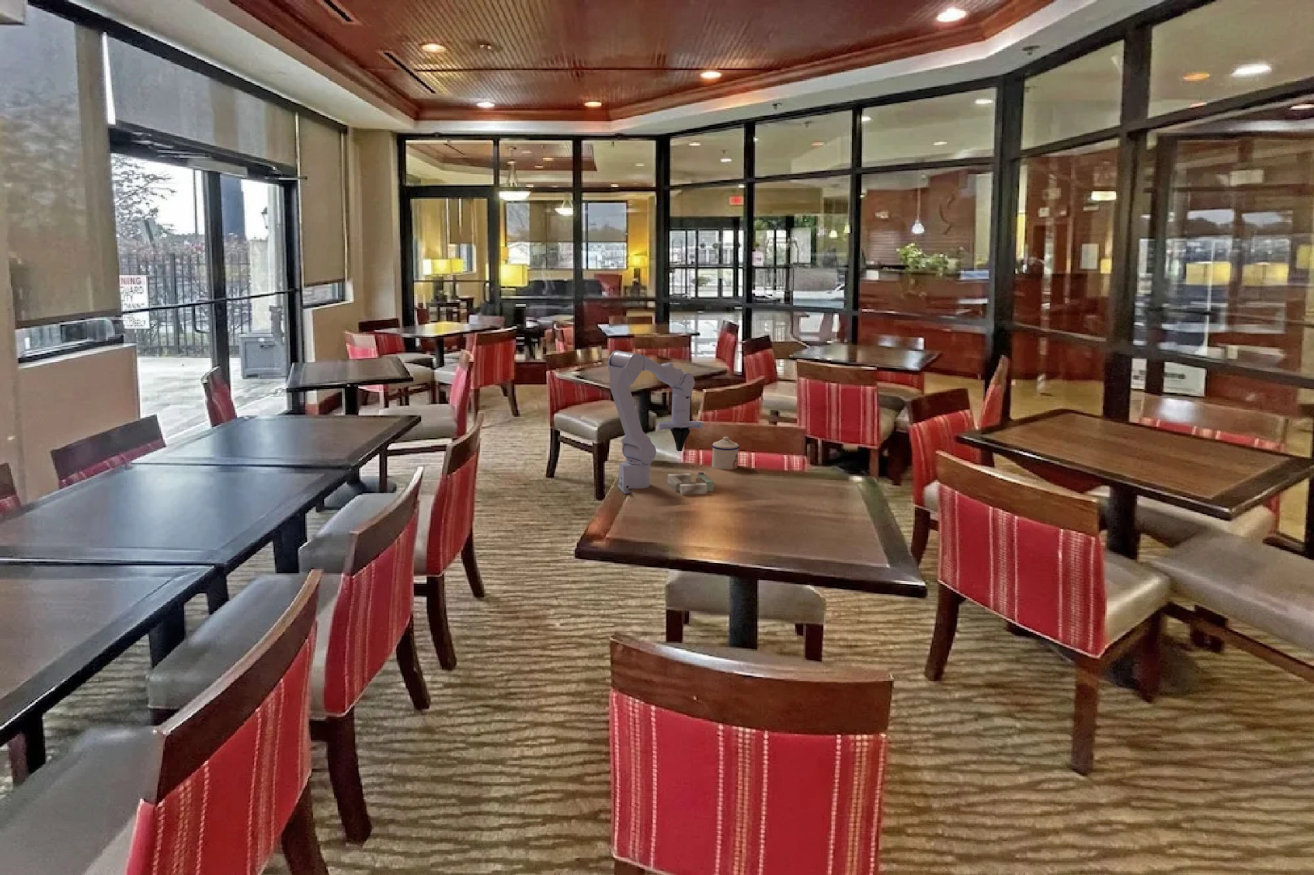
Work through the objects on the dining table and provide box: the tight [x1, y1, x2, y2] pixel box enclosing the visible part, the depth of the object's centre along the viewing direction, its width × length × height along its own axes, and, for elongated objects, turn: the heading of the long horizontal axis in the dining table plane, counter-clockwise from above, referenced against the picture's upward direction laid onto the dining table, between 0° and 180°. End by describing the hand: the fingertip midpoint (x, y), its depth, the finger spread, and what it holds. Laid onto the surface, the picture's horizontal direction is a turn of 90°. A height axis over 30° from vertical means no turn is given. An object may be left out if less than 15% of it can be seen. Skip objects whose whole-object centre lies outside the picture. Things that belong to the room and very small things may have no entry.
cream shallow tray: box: [667, 472, 708, 496], centre depth 279 cm, size 14×14×4 cm
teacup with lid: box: [711, 436, 740, 470], centre depth 306 cm, size 12×9×12 cm
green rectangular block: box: [696, 471, 715, 492], centre depth 280 cm, size 2×10×3 cm, turn 16°
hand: (679, 450), depth 290 cm, fingers closed
